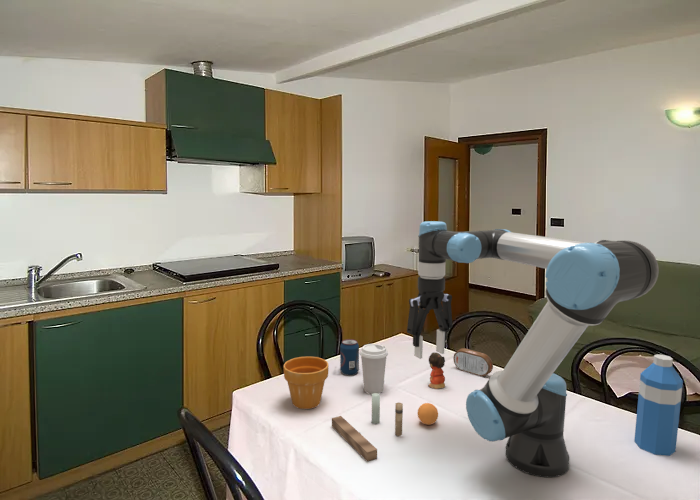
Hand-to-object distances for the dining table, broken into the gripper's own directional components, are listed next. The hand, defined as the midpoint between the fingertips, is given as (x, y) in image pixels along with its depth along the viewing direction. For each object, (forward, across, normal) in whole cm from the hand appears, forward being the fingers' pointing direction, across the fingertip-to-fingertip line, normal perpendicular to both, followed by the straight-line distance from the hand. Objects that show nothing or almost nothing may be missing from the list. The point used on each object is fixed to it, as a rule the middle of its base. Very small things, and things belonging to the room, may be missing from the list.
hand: (429, 354), depth 136 cm
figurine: (+21, -19, -19) cm, 34 cm away
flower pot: (+21, +26, -29) cm, 44 cm away
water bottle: (+21, -46, +39) cm, 64 cm away
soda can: (+21, +2, -44) cm, 49 cm away
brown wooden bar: (+21, +24, -2) cm, 32 cm away
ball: (+18, 0, 0) cm, 18 cm away
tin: (+21, -38, -22) cm, 49 cm away
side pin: (+21, +13, -8) cm, 26 cm away
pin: (+21, +11, +1) cm, 24 cm away
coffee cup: (+21, +2, -27) cm, 34 cm away
